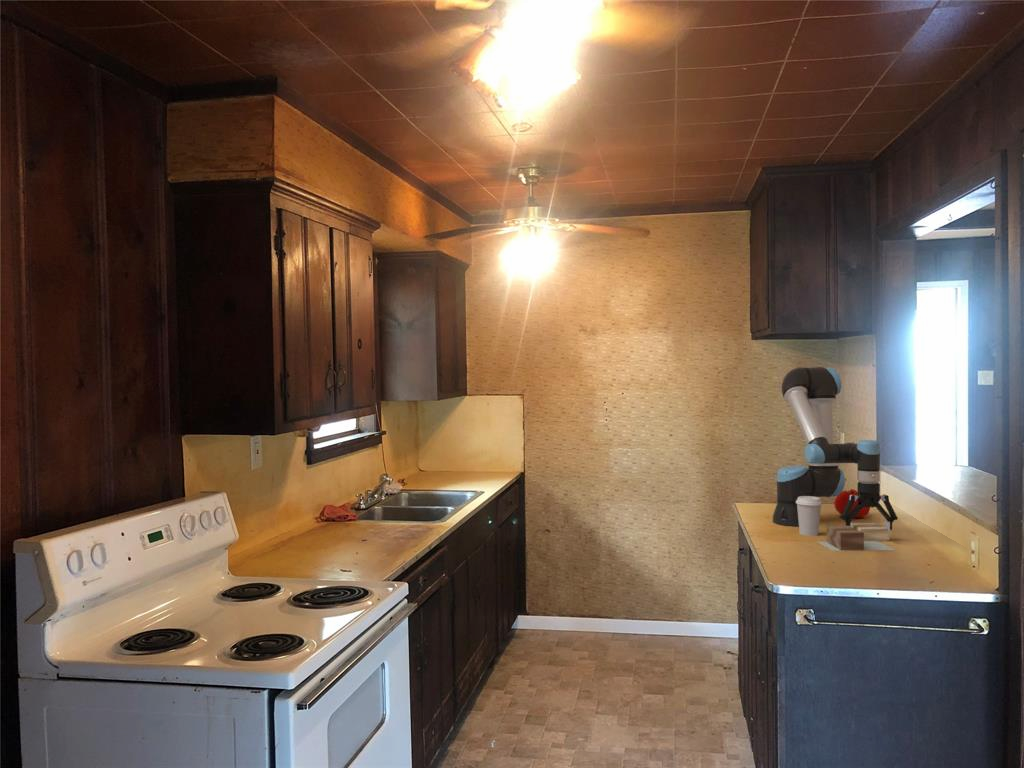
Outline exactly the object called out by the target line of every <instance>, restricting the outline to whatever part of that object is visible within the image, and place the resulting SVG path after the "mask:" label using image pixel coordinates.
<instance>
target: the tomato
mask: <svg viewBox="0 0 1024 768" xmlns="http://www.w3.org/2000/svg"><path fill="white" fill-rule="evenodd" d="M849 495H853V496H857V495H858V490H855V489H850V490H843V491H842V492H841V493H840V494H839V495H838V496H835V499H834V509H835V510H836V512H837V513H839V514H840V515H841V514H842V512H843V510H844V508H845V506H846V504H847V502H848V500H849ZM858 502H859V501H858V500H857V499H856V501H854V504H853V506H852V508H851V510H850V512H851V511H852V510H853V509H854V507H855V506H856V504H857V503H858ZM870 510H871V507H863V508H862V509H861V510H860V511H859V512H858V513H857V515H856V516H855V517H854V518H853V519H859V518H863V517H865V516H867V515H868V514H869V513H870ZM850 512H849V513H850Z"/></svg>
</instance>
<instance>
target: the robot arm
mask: <svg viewBox="0 0 1024 768" xmlns="http://www.w3.org/2000/svg"><path fill="white" fill-rule="evenodd" d="M841 390H842V379H841V377H840V374H839V372H838V371H837V370H836V369H835V368H832V367H828V366H827V367H826V366H825V367H822V366H820V367H817V366H816V367H815V366H814V367H803V366H802V367H795V368H793V369H791V370H789V371H788V372H787V373H786V374H785V376H784V378H783V379H782V382H781V394H782V397H783V399H784V400H785V402H786V403H788V404H789V406H790V409H791V411H792V413H793V415H794V418H795V420H796V423H797V424H798V427H799V429H800V431H801V434H802V436H803V438H804V440H805V443H806V446H805V447H804V455H805V457H804V458H805V460H806V461H807V462H808V464H807V465H808V467H807V466H806V465H787V466H784V467H783V466H782V467H780V468H778V470H777V473H776V474H777V475H776V506H775V508H774V511H773V514H772V522H773V523H774V524H775V525H783V526H790V527H799V521H798V510H797V503H796V500H797V499H798V497H800V496H813V497H818V498H832V497H837V496H838V495H839V494H840V493H841V492H842V491H844V487H845V483H846V477H845V474H844V471H843V470H842V469H840V468H839V464H857V465H856V466H857V492H858V495H857V496H853V495H849V500H848V502H847V504H846V506H845V508H844V510H843V512H842V514H840V516H839V519H840V520H842V521H844V522H845V523H844V524H845V526H850V527H852V528H853V523H854V522H853V521H852V520H853V519H855V518H854V517H855V516H856V515H857V513H858V512H859V511H860V510H861V509H862V508H863V507H870V508H876V509H877V510H878V512H879V513H880V514H881V515H882V516H883V518H884V519H885V520H884V521H883V523H884V524H883V525H884V526H883V527H885V528H887V529H888V541H889V540H891V531H892V530H893V523H894V521H897V520H898V516H897V513H896V512H895V510H894V508H893V506H892V504H891V503H890V496H889V495H887V494H882V495H880V494H881V493H880V492H881V484H880V481H881V476H880V475H881V470H880V469H881V449H880V442H879V441H878V440H872V439H861V440H858V441H857V443H855V442H844V443H834V422H833V418H834V417H833V403H834V401H836V399H837V397H836V396H838V395H839V394H840V392H841ZM856 499H857V500H858V501H859V502H858V503H857V504H856V506H855V507H854V509H853V510H852V511H851V512H850V510H851V508H852V506H853V504H854V501H856ZM880 501H882V502H883V505H884V507H885V508H886V510H887V511H886V510H885V508H883V506H882V504H880ZM849 512H850V513H849Z"/></svg>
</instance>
